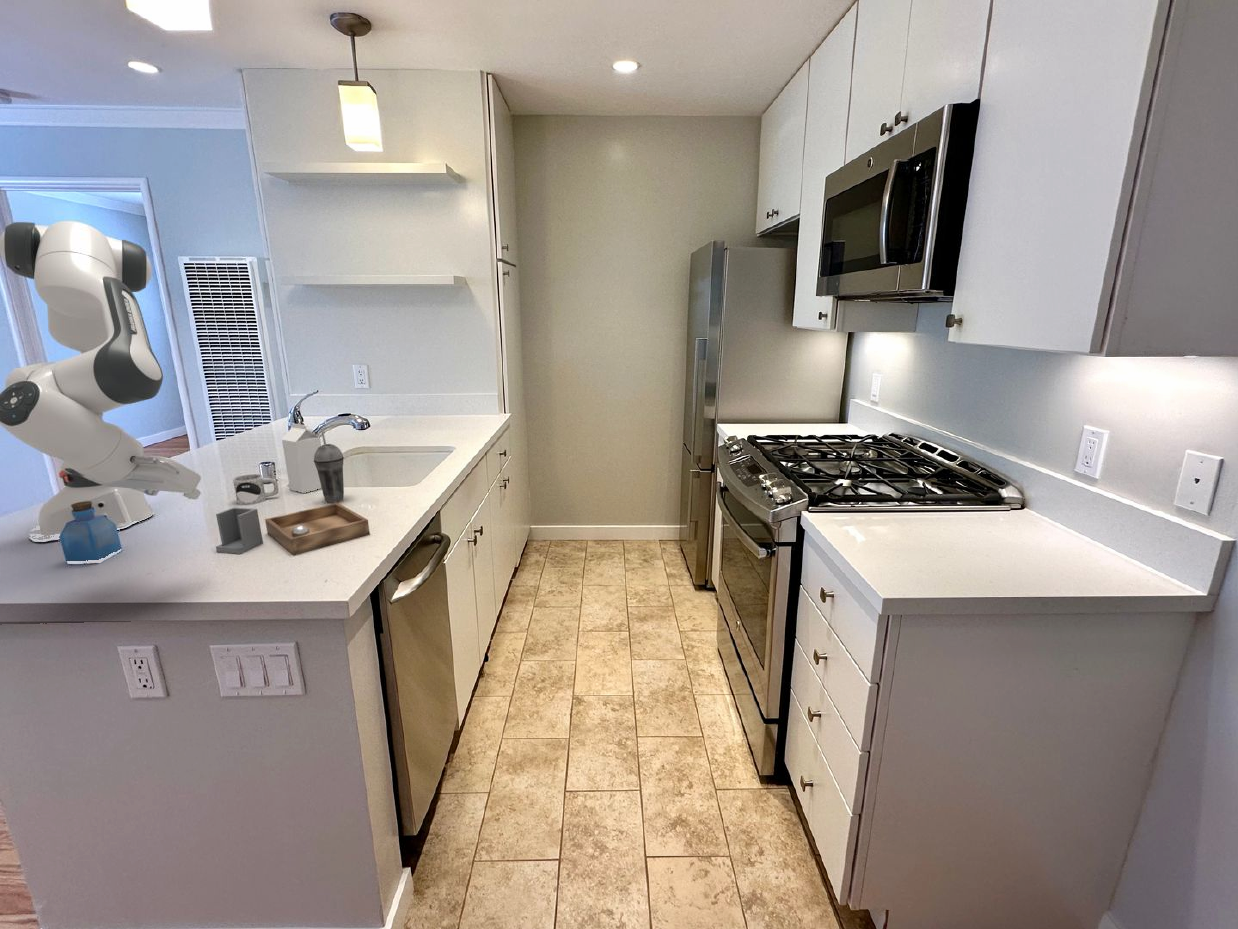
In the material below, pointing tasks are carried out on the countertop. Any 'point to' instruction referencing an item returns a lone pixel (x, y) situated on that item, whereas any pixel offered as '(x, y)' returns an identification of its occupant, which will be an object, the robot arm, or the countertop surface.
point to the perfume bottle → (88, 535)
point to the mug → (252, 489)
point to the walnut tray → (317, 527)
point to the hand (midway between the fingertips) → (175, 494)
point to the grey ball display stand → (239, 530)
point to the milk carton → (301, 458)
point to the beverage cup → (330, 471)
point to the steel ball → (300, 531)
